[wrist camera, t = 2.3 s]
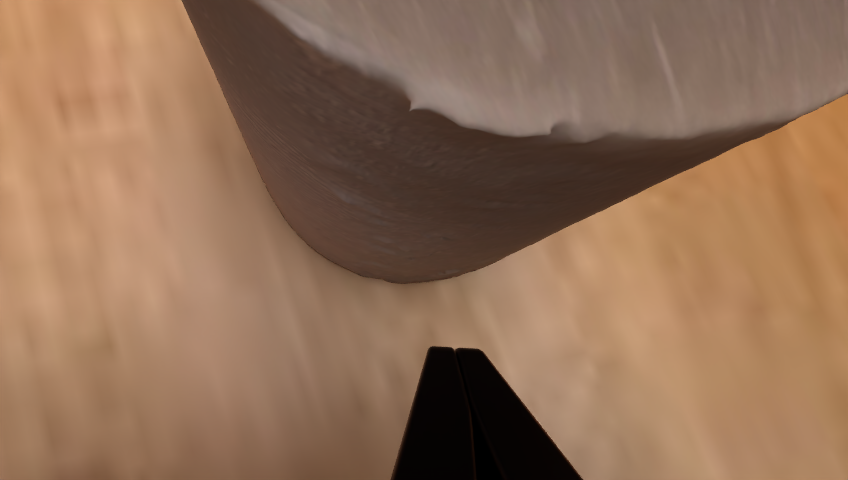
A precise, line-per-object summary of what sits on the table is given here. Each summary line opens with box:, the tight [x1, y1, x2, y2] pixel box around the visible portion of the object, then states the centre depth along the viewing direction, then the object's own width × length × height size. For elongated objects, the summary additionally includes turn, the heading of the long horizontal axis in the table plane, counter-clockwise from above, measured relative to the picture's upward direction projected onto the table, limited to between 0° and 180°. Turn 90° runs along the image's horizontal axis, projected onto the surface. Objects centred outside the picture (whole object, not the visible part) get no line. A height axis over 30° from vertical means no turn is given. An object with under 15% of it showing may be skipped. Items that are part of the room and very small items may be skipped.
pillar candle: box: [182, 0, 848, 284], centre depth 11 cm, size 10×10×15 cm
